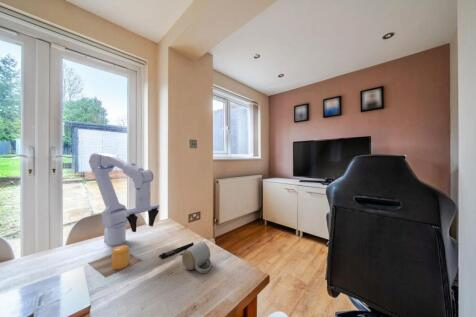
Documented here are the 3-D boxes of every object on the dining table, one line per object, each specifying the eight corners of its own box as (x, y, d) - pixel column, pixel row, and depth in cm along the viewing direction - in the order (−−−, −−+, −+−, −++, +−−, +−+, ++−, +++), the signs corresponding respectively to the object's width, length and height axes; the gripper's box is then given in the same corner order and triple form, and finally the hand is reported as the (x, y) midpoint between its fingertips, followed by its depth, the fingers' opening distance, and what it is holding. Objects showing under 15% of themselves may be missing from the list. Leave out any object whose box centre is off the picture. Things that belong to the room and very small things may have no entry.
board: (87, 267, 66) (87, 252, 66) (122, 253, 76) (123, 240, 76) (105, 282, 58) (105, 265, 58) (142, 264, 68) (142, 249, 68)
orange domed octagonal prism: (109, 266, 64) (109, 249, 64) (124, 259, 69) (124, 243, 69) (116, 270, 62) (116, 253, 62) (131, 263, 66) (131, 247, 66)
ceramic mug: (180, 267, 66) (180, 246, 66) (197, 257, 73) (197, 238, 73) (200, 278, 60) (200, 255, 60) (216, 267, 67) (217, 246, 67)
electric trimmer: (195, 250, 79) (195, 243, 80) (160, 265, 68) (160, 256, 68) (190, 247, 82) (191, 240, 82) (156, 261, 71) (156, 253, 71)
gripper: (130, 201, 71) (130, 236, 71) (163, 195, 83) (163, 225, 83) (121, 199, 75) (121, 232, 75) (154, 194, 87) (154, 222, 87)
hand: (142, 228), depth 79 cm, fingers open, 7 cm apart
